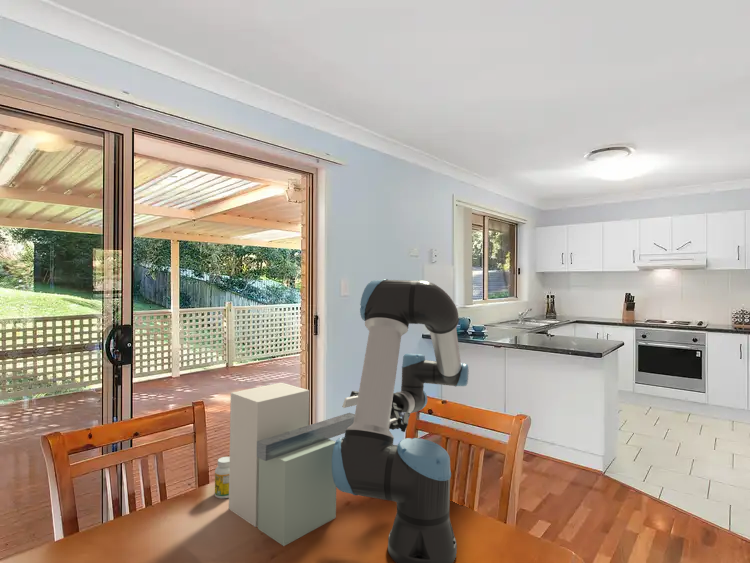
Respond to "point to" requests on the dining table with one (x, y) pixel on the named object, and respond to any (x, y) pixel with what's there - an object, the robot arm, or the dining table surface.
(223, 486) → the supplement bottle
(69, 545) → the dining table surface
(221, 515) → the dining table surface
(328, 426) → the steel block
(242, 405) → the two-step stand
